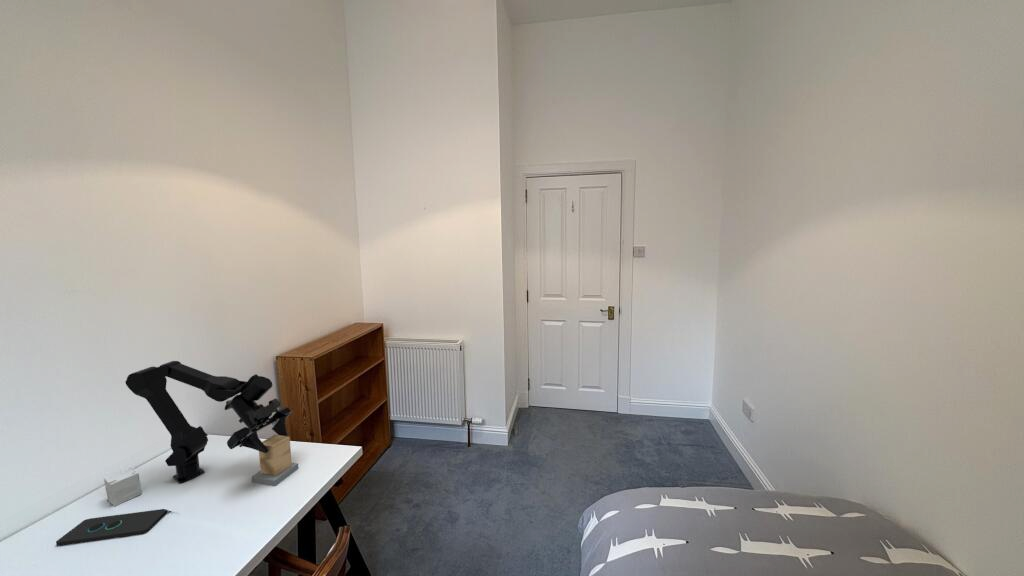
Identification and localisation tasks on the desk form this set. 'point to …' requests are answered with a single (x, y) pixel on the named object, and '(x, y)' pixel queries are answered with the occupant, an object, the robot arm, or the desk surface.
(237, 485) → the desk surface
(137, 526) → the smart home device
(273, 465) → the honey oak block
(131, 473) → the skincare box
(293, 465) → the slate top slab
